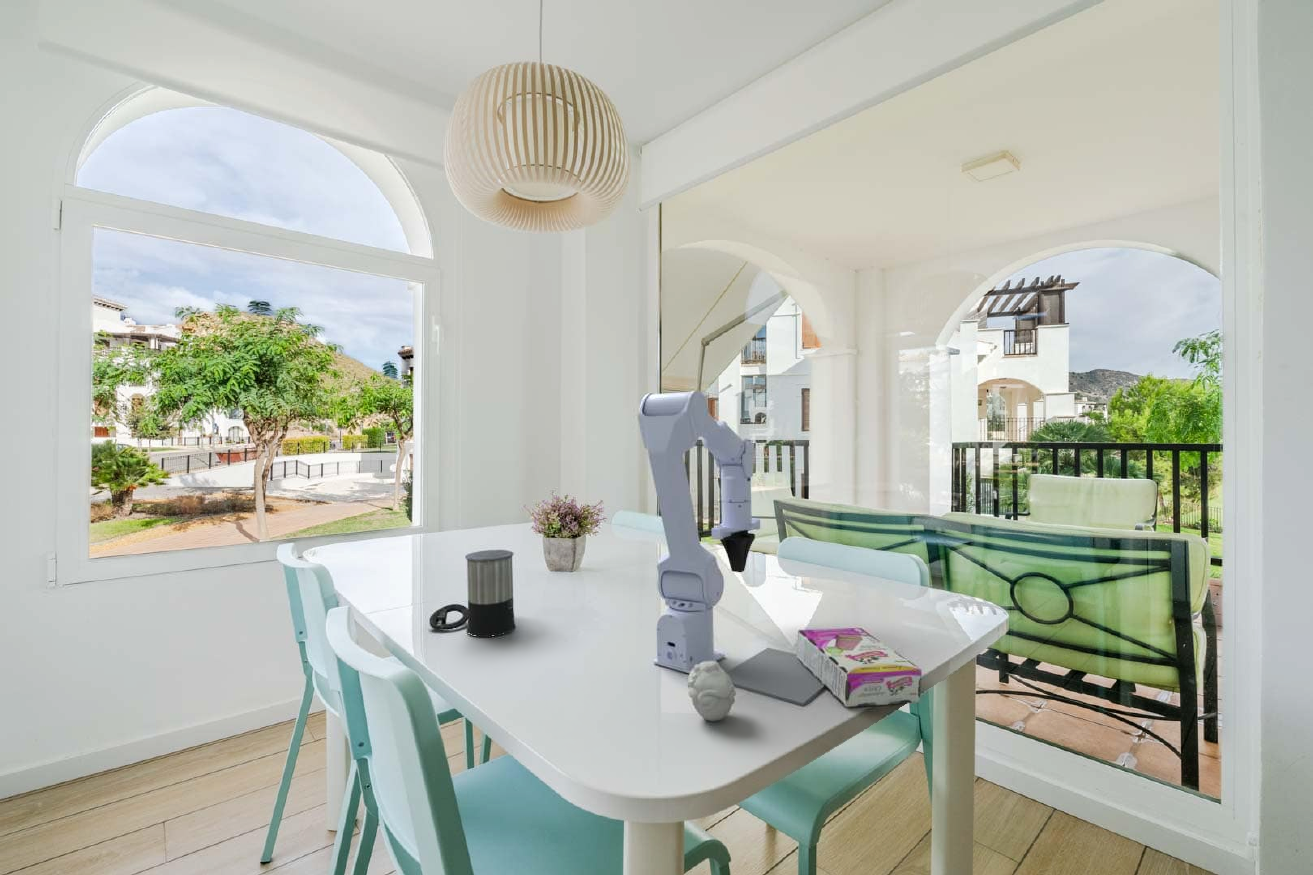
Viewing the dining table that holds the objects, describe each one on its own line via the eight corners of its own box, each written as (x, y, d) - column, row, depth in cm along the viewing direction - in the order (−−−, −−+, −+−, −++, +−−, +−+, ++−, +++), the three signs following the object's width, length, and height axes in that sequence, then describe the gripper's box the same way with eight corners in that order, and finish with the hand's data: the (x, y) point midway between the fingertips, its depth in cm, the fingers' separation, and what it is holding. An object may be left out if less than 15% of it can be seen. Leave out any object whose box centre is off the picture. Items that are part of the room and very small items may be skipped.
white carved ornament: (716, 702, 81) (715, 651, 81) (747, 723, 75) (746, 668, 75) (678, 712, 79) (677, 660, 79) (707, 735, 72) (706, 678, 72)
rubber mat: (803, 706, 80) (803, 703, 80) (716, 680, 88) (715, 678, 88) (848, 668, 92) (848, 666, 92) (767, 649, 101) (767, 647, 101)
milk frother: (518, 634, 112) (517, 556, 112) (429, 646, 106) (428, 564, 106) (509, 613, 125) (507, 544, 125) (429, 623, 120) (427, 550, 120)
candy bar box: (860, 625, 96) (924, 668, 80) (859, 655, 96) (922, 704, 80) (796, 627, 94) (847, 672, 78) (794, 658, 94) (846, 709, 78)
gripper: (733, 506, 106) (735, 581, 106) (773, 498, 117) (774, 566, 117) (701, 503, 111) (703, 576, 111) (742, 496, 122) (743, 562, 122)
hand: (737, 571), depth 114 cm, fingers closed
